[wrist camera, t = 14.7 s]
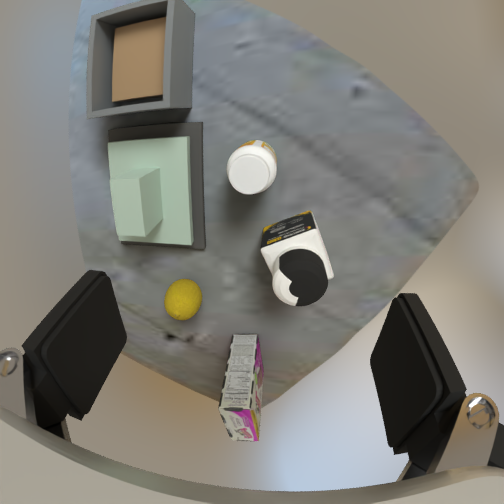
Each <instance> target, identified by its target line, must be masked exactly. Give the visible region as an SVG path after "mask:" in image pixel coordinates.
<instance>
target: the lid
mask: <svg viewBox="0 0 504 504" xmlns="http://www.w3.org/2000/svg"><path fill="white" fill-rule="evenodd" d="M108 156H109V168H110V178H111V179H110V188H111V196H112V204H113V211H114V218H115V224H116V230H117V235H118V236H119V241H135V242H150V243H166V244H181V245H192V244H193V242H194V237H193V220H192V199H191V171H190V136H185V137H163V138H148V139H135V140H124V141H115V142H110V143H108Z"/></svg>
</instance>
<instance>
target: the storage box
mask: <svg viewBox="0 0 504 504" xmlns="http://www.w3.org/2000/svg"><path fill="white" fill-rule="evenodd" d="M194 26H195V13H194V12H193V11H192V10H191V9H190V8H189V6H188V5H187V4H186V3H185V2H184V1H183V0H142V1H138V2H134V3H130V4H127V5H123V6H120V7H117V8H113V9H110V10H107V11H104V12H101V13H98V14H96V15H93V16H92V18H91V26H90V35H89V46H88V60H87V119H91V118H98V117H107V116H115V115H123V114H131V113H138V112H147V111H157V110H168V109H181V108H192V73H193V45H194Z"/></svg>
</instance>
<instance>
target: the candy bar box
mask: <svg viewBox="0 0 504 504" xmlns="http://www.w3.org/2000/svg"><path fill="white" fill-rule="evenodd" d="M263 375H264V370H263V364H262V358H261V351H260V345H259V338H258V334H233V335H232V341H231V346H230V351H229V356H228V361H227V366H226V371H225V377H224V382H223V387H222V393H221V398H220V403H219V407H218V409H219V412H220V414H221V417H222V419H223V422H224V424H225V427H226V429H227V431H228V434H229V436H230V438H231V440H237V441H259V431H260V417H261V403H262V389H263Z"/></svg>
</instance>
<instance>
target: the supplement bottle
mask: <svg viewBox="0 0 504 504" xmlns="http://www.w3.org/2000/svg"><path fill="white" fill-rule="evenodd" d="M276 172H277V157H276V154H275V151H274V150H273V148H272V147H271V146H270V145H269V144H267V143H266V142H263V141H260V140H252V141H248V142H246V143H244V144H243V145H241V146H240V147H239V148H238V149H237V150H236V151H234V152H233V154H232V155H231V156H230V158H229V160H228V163H227V175H228V178H229V180H230V183H231V185H232V186H233V187H234V188H235V189H236V190H237V191H239V192H240V193H243V194H256V193H260V192H263V191H264V190H266V189H267V188H269V187H270V186H271V184H272V183H273V181H274V179H275V177H276Z"/></svg>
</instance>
